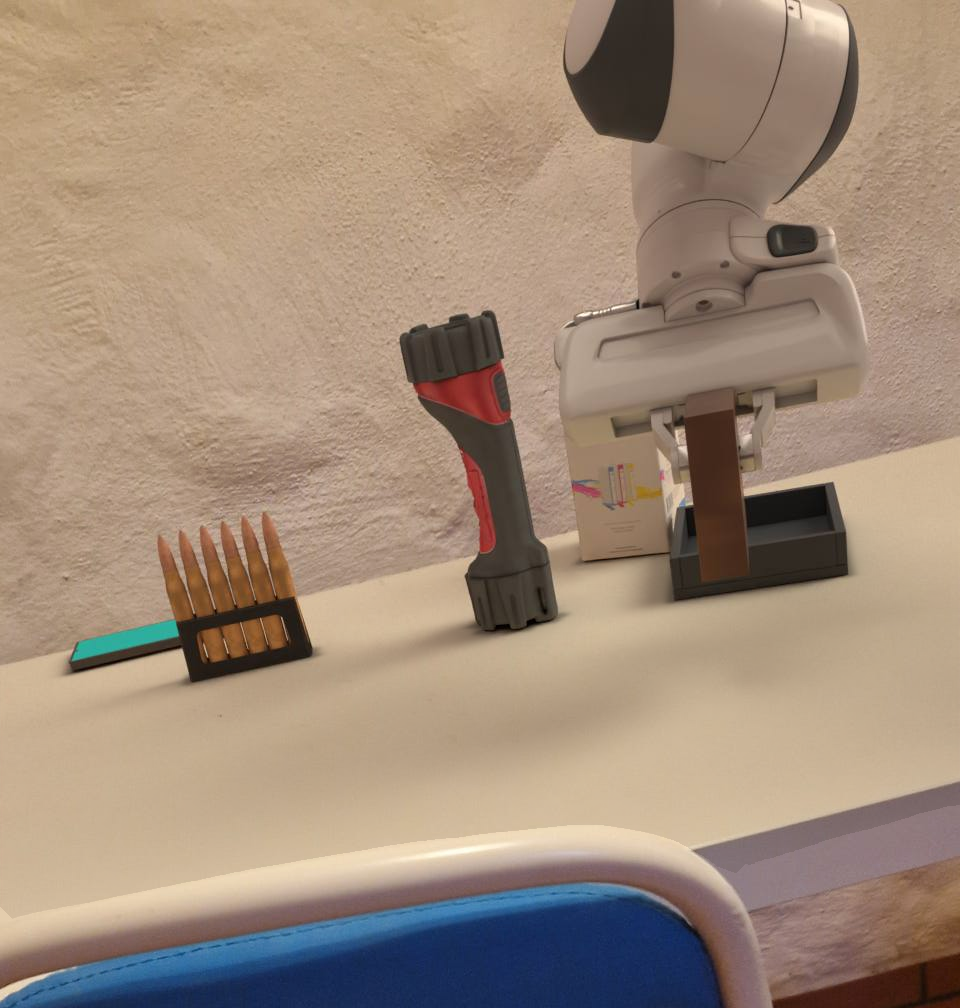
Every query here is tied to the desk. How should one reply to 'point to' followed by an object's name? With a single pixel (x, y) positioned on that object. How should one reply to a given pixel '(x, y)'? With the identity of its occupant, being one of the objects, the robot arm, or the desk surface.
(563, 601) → the desk surface
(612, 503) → the ink box
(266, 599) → the ammunition clip
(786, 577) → the dark gray tray
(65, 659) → the desk surface
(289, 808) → the desk surface
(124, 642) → the smartphone
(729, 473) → the walnut block
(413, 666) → the desk surface
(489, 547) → the flashlight
